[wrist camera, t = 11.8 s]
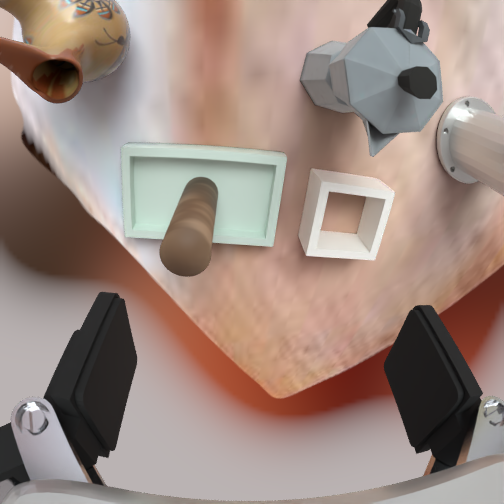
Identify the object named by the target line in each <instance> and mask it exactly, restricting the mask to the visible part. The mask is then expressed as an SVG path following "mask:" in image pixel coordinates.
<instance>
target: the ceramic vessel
mask: <svg viewBox="0 0 504 504" xmlns="http://www.w3.org/2000/svg"><path fill="white" fill-rule="evenodd" d="M0 8H3V9H5V10H6V11H8V12H9V13H11V14H12V15H13V16H14V17H15V18H16V19H17V20H18V21H19V23H20V25H21V28H22V37H23V41H24V43H23V42H18V41H14V40H10V39H6V38H2V37H0V63H1V64H3V65H4V66H6V67H7V68H8V69H9V70H11V71H12V72H13V73H14V74H15V75H16V76H18V77H19V78H20V79H21V80H22V81H23V82H24V83H25V84H26V85H27V86H28V87H29V88H30V89H32V90H33V91H34V92H36V93H37V94H39V95H40V96H41V97H42V98H44V99H45V100H47V101H49V102H52V103H64V102H67V101H69V100H71V99H72V98H74V97H75V96H76V95H77V94H78V92H79V91H80V89H81V87H82V84H83V82H91V81H96V80H99V79H102V78H104V77H106V76H108V75H110V74H111V73H113V72H114V71H115V70H116V69H117V68H118V67H119V66H120V65H121V64H122V62H123V61H124V59H125V57H126V55H127V53H128V49H129V45H130V29H129V24H128V21H127V18H126V16H125V14H124V12H123V10H122V8H121V7H120V5H119V4H118V3H117V2H116V1H115V0H0Z"/></svg>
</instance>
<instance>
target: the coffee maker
mask: <svg viewBox="0 0 504 504" xmlns="http://www.w3.org/2000/svg"><path fill="white" fill-rule="evenodd" d="M421 13H422V4H421V1H420V0H387V1H386V2H385V4H384V5H383V6H382V7H381V8H380V10H379V11H378V12H377V13H376V14H375V16H374V17H373V18H372V19H371V21H370V22H369V23H368V24H367V26H368V29H366V30H365V31H363V32H362V33H360V34H359V35H357V36H356V37H355V38H353V39H352V40H350V41H349V42H347V43H343V42H336V41H330V42H328V43H326V44H324V45H322V46H320V47H318V48H316V49H314V50H312V51H310V52H308V53H307V54H306V58H305V62H304V66H303V70H302V74H301V78H300V81H301V83H302V84H303V86H304V88H305V89H306V91H307V92H308V94H309V96H310V97H311V99H312V101H313V103H314V104H315V105H317V106H320V107H324V108H327V109H330V110H334V111H337V112H340V113H347V112H355V114H357V115H358V116H359V117H360V118H361V119H362V120H363V123H364V126H365V129H366V132H367V136H368V141H369V151H370V156H372V157H374V156H375V155H376V154H377V153H378V152H379V151H380V150H381V149H382V148H384V147H385V146H386V145H387V144H388V143H389V142H390V141H391V140H392V139H394V138H395V137H396V136H397V135H398V134H399V133H403V132H420V131H421V130H422V129H423V128H424V126H425V125H426V124H427V122H428V121H429V120H430V118H431V117H432V116H433V114H434V113H435V112H436V110H437V109H438V108H439V106H440V105H441V104H442V102H443V95H442V81H441V70H440V61H439V60H438V59H437V57H436V56H435V55H434V54H433V53H432V52H431V51H430V50H429V48H428V47H427V46H426V45H425V44H424V43H423V42H427V41H428V36H429V31H430V29H429V27H428V25H427V23H426V22H424V21H422V20H421V21H420V17H421ZM418 27H419V32H418V36H416V33H417V29H418Z"/></svg>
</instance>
